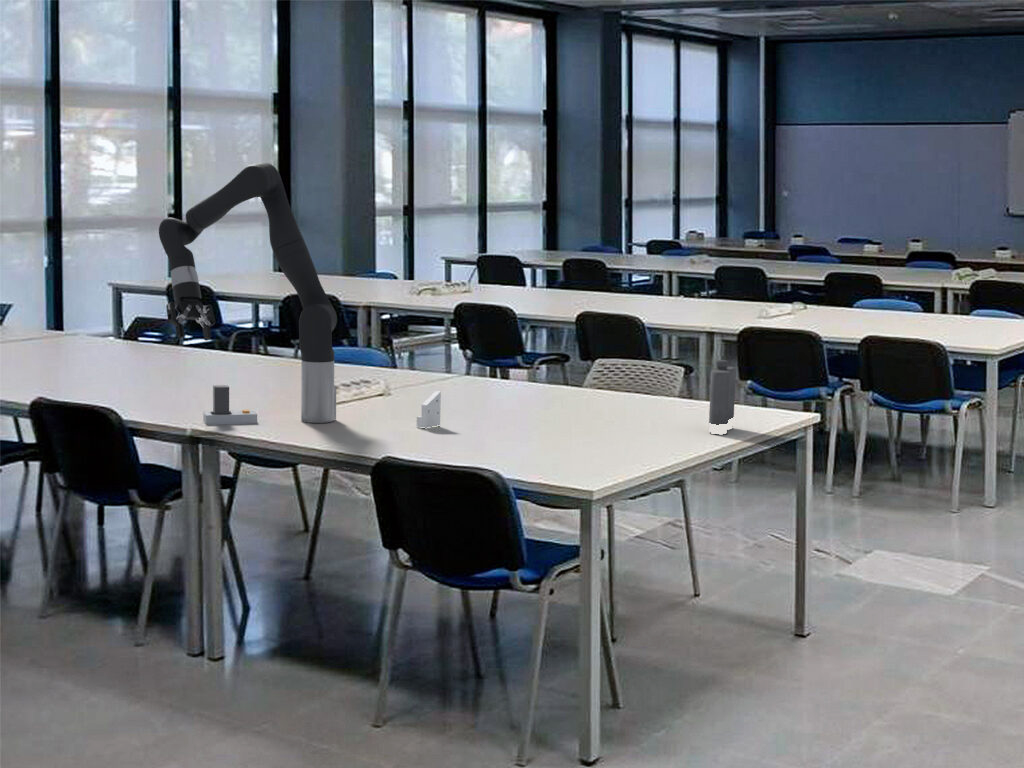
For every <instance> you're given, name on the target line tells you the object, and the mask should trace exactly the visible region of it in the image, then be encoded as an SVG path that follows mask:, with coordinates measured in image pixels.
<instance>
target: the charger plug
mask: <svg viewBox="0 0 1024 768" xmlns="http://www.w3.org/2000/svg"><path fill="white" fill-rule="evenodd" d="M212 411H213V415H228V414H229V411H230V386H229V385H227V384H222V385H221V384H220V385H219V384H218V385H217V384H216V385H214V384H213V385H212Z"/></svg>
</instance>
